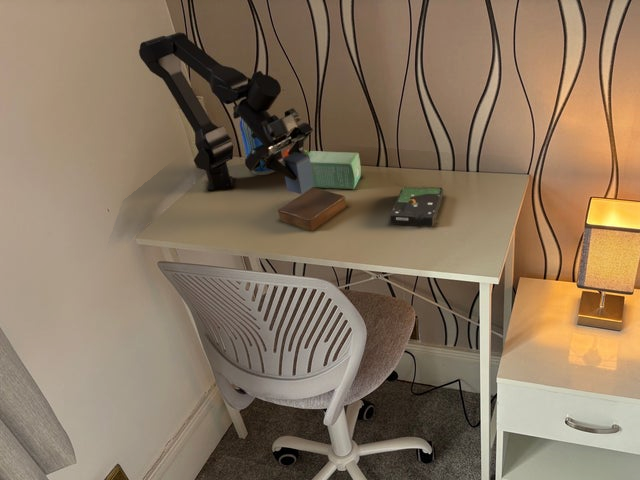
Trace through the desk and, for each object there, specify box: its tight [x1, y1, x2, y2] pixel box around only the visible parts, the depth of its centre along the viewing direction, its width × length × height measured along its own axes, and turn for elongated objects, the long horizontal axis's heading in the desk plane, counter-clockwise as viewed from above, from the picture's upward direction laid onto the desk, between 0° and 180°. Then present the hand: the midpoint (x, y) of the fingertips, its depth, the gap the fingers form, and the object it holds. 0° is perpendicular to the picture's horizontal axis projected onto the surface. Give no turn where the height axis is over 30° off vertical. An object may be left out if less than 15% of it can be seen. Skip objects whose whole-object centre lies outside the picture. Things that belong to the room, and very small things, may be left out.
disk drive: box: [389, 185, 444, 227], centre depth 149 cm, size 10×3×15 cm
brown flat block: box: [277, 187, 347, 232], centre depth 150 cm, size 10×13×3 cm
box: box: [307, 150, 362, 190], centre depth 162 cm, size 7×14×8 cm, turn 79°
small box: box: [283, 152, 315, 195], centre depth 147 cm, size 5×5×8 cm
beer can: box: [239, 117, 276, 176], centre depth 168 cm, size 8×8×16 cm
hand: (302, 175), depth 146 cm, fingers closed on small box, 4 cm apart
